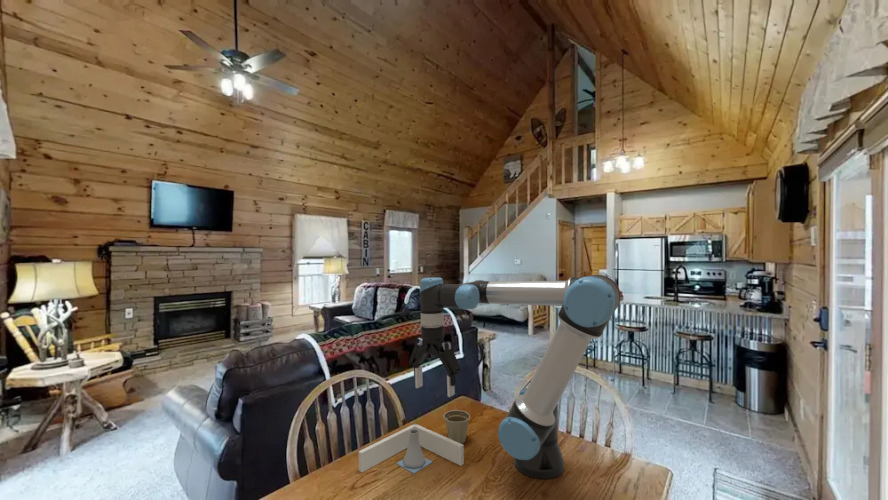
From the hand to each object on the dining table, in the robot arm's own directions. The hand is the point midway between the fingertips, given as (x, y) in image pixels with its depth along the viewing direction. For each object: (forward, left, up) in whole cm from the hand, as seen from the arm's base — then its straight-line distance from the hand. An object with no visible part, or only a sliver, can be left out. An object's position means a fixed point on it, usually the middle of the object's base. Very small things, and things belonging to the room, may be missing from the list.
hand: (434, 391), depth 122 cm
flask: (+3, +6, -22) cm, 23 cm away
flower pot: (+2, -14, -22) cm, 26 cm away
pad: (+3, +6, -22) cm, 23 cm away
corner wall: (+2, +8, -22) cm, 23 cm away
